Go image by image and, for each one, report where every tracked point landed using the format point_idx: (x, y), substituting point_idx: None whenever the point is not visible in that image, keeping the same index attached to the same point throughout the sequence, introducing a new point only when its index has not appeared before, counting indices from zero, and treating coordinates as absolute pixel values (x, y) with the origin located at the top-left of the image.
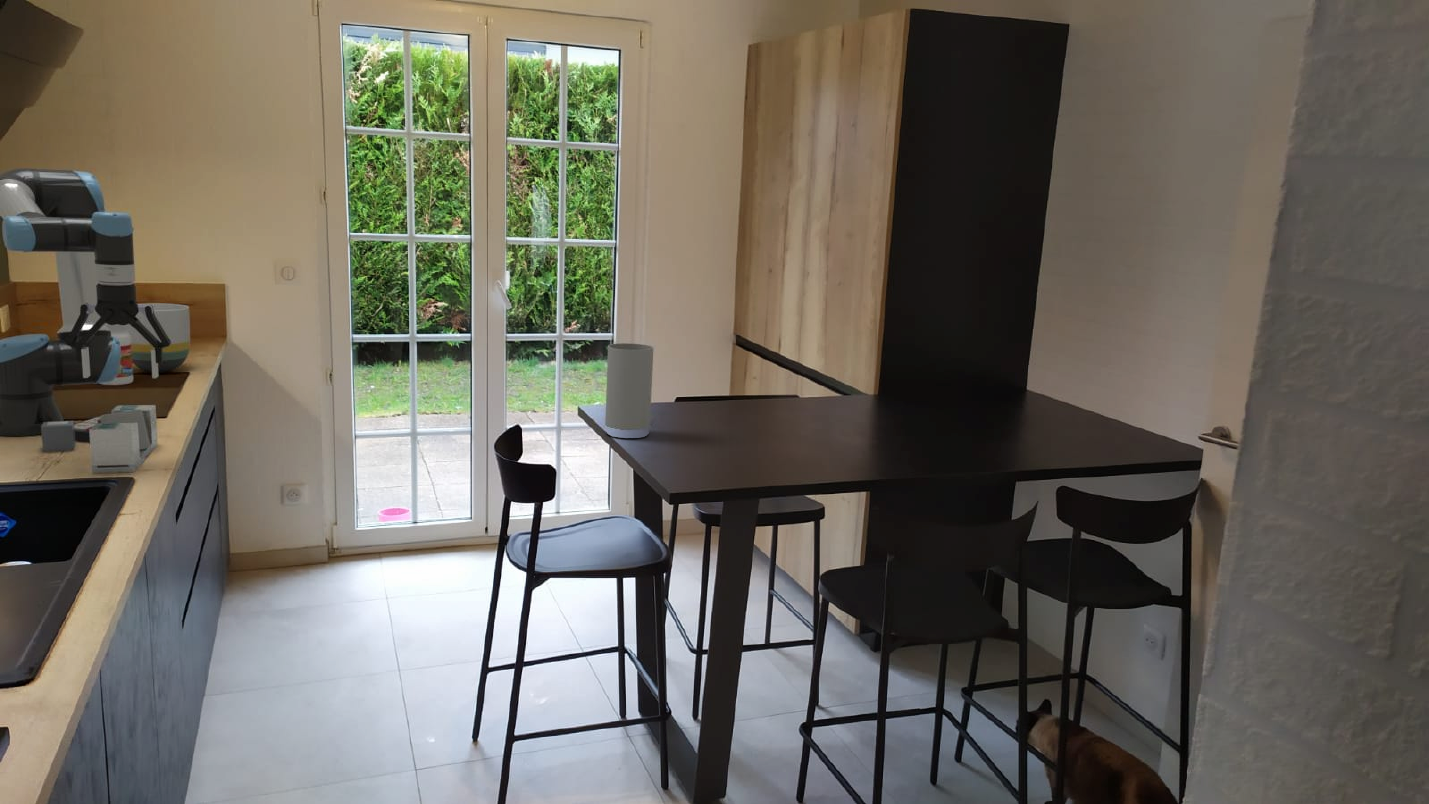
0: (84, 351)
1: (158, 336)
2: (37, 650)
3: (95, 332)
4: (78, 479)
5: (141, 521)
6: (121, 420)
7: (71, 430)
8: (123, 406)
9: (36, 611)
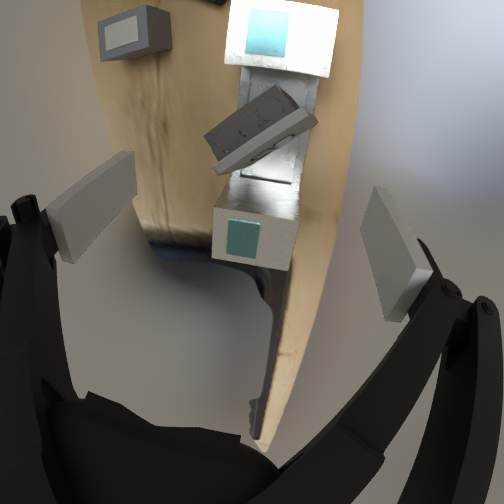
0: (77, 254)
1: (436, 388)
2: (256, 433)
3: (55, 328)
4: None
5: (294, 368)
6: (260, 151)
7: (152, 47)
8: (251, 20)
9: (249, 421)
